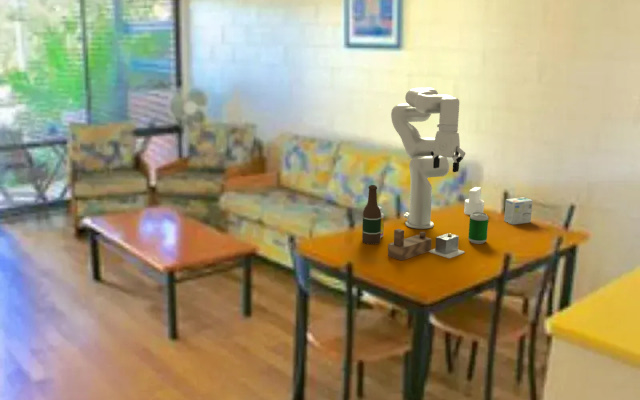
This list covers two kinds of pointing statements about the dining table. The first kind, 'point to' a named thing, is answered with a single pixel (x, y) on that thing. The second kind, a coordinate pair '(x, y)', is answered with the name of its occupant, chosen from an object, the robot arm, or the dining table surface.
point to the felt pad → (448, 254)
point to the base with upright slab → (474, 202)
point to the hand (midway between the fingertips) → (445, 169)
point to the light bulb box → (518, 210)
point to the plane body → (408, 245)
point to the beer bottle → (371, 218)
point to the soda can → (478, 228)
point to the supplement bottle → (381, 222)
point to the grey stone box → (446, 243)
